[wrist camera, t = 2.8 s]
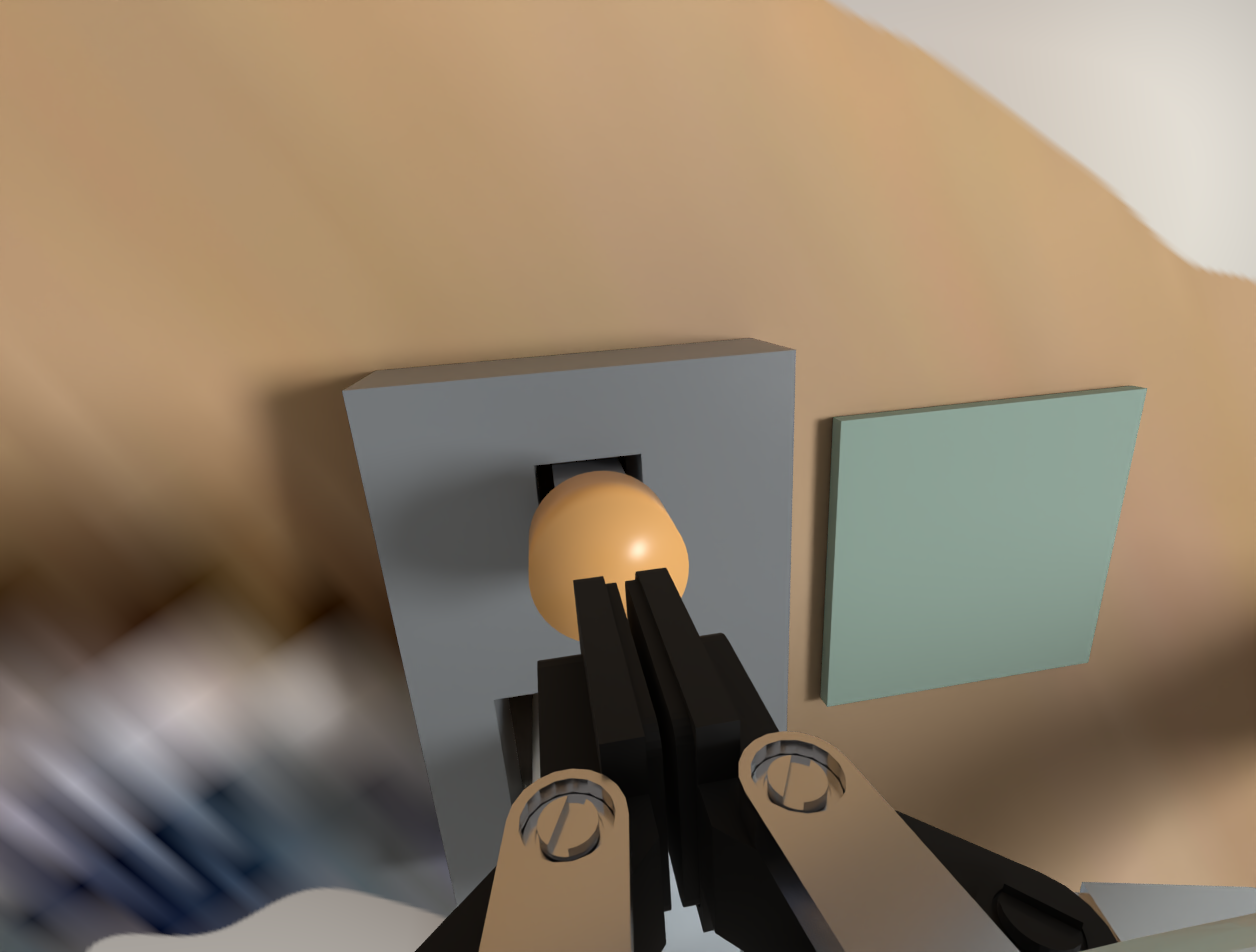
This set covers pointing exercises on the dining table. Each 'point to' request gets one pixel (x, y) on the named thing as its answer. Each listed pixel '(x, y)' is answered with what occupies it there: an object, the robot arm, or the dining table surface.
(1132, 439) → the mat
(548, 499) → the release plunger
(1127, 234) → the dining table surface
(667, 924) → the dome-topped cylinder
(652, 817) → the robot arm
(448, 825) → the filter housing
